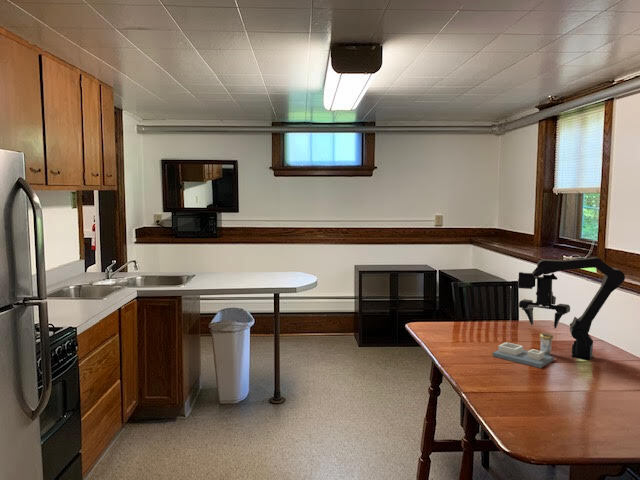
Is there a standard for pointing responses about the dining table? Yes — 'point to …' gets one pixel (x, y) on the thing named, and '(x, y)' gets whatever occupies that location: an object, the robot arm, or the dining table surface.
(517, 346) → the board
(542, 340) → the gold capped canister
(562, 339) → the dining table surface
